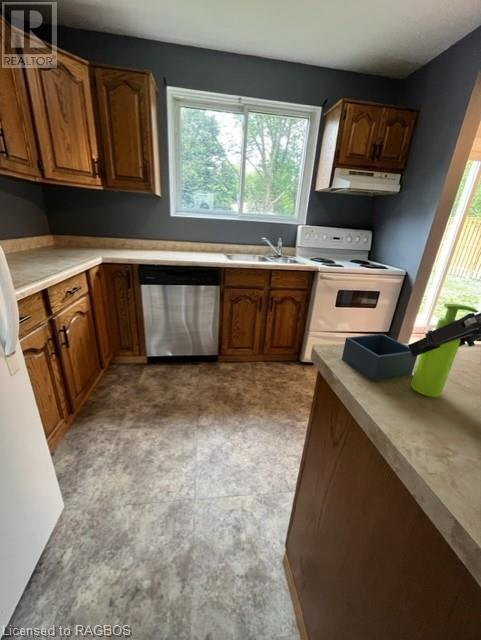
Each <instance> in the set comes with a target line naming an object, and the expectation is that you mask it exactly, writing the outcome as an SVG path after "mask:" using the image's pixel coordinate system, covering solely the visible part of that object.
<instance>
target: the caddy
mask: <svg viewBox="0 0 481 640" xmlns="http://www.w3.org/2000/svg"><path fill="white" fill-rule="evenodd" d="M341 355H342V356H341V360H342V361H343V362H345V363H346V364H348V365H349V366H351V367H352V368H354V369H355V370H356V371H358V373H360V374H361V375H363V376H364V377H366V378H367V379H369V380H370V381H371V382H378V381H383V380H389V379H395V378H401V377H406V376H407V377H408V376H412V375H413V373H414V370H415V367H416V366H415V365H416V363H417V362H416V361H417V359H418V356H414V357H413V356H412V353H411V351H410V348H409V346H408V345H406V344H404V343H402V342H400V341H398V340H396V339H395V338H392V337H390V336H389V335H386V334H384V333H378V334H377V333H376V334H365V335H358V336H357V335H355V336H348V337H345V341H344V346H343V350H342V354H341Z"/></svg>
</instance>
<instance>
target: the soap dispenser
mask: <svg viewBox="0 0 481 640" xmlns="http://www.w3.org/2000/svg"><path fill="white" fill-rule="evenodd" d="M443 307H444V308H445V309H446V312H445V315H444V317H439V318H438V320H437V324H436V326H435V330H436V329H438V328H440V327H443V326H445V325H447V324H450V323H452V322H454V321H456V320H457V319H456V317H457V313H458V311H459V310H461V311H467V312H471V313H474V314H478V313H480V312H479V310H478V309H476V308H474V307H471V306H468V305H465V304H460V303H459V304H458V303H444V304H443ZM427 333H428V331H427V332H426V334H427ZM460 342H461V340H460V339H458V340H455V341H452V342H449V343H445V344H442V345H440V346H441V347H438V348H436V349H433V350H431V351H428V352H426V353H423V354H420V355H418V356H419V357H418V360H417V362H416V366H415V368H414V371H413V374H412V375H413V376H412V379H411V381H410V387H411V389H412V390H414V391H416V392H417V393H418V394H420V395H421V394H422V395H424V396H427V397H432V398H438V397H440V396H441V395H442V393H443V390H444V388H445V384H446V382H447V380H448V376H449V374H450V372H451V368H452V366H453V363H454V361H455V357H456V355H457V352H458V350H459V347H460V346H459V344H460Z"/></svg>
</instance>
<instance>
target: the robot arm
mask: <svg viewBox="0 0 481 640" xmlns="http://www.w3.org/2000/svg"><path fill="white" fill-rule="evenodd" d="M455 320H456V321H454V322H452V323H450V324H447V325H445V326H443V327H440V328H438V329H436V328H435V329H433V330H428V331H427V332H428V333H427V332H426V333H425V334H424V336H425V337H424V338H421V339H418V340H417V341H414V342H412V343H410V344H408V345H407V346H408V347H409V348H410V351H411V353H412V356H413V357H414V356H417V357H418V356H420V354H423V353H426V352H428V351H431V350H433V349H436V348H438V347H441V346H440V345H442V344H445V343H449V342H452V341H455V340H458V339H460V340H461V342H460V344H459V347H463V346H465V345H467V346H468V347H469V348H470V347H474V346H476V344H475V342H481V312H478V313H475V312H470V313H467V314H466V315H464V316H462V317H461V318H459V319H455Z"/></svg>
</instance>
